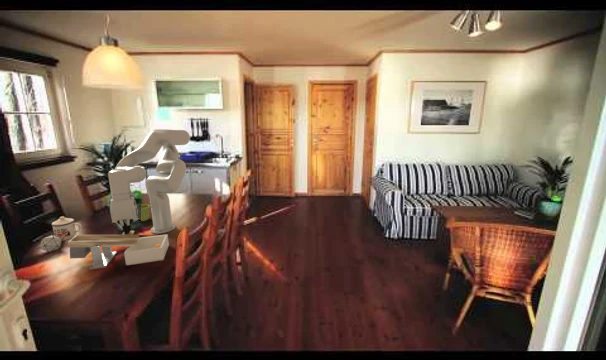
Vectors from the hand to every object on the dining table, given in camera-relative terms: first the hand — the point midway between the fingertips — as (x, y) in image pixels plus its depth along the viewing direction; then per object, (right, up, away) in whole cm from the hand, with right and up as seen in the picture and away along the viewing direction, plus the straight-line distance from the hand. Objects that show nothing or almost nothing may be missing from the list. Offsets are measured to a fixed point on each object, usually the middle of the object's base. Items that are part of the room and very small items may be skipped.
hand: (127, 232), depth 127 cm
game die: (-36, -9, 0) cm, 37 cm away
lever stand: (-5, -11, -9) cm, 15 cm away
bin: (+13, -10, -4) cm, 16 cm away
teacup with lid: (-41, -6, +15) cm, 44 cm away
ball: (+17, -7, -3) cm, 18 cm away
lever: (-5, -7, -6) cm, 10 cm away
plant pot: (-16, 0, +39) cm, 42 cm away
